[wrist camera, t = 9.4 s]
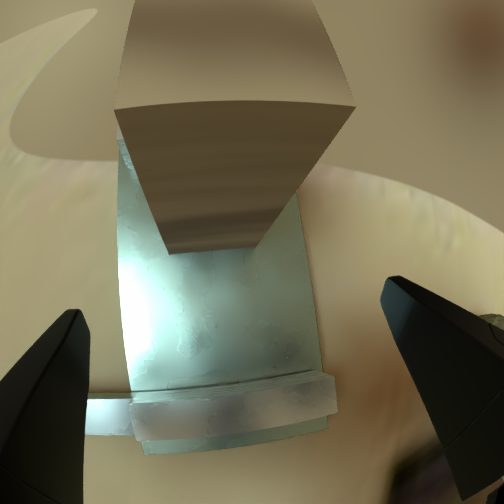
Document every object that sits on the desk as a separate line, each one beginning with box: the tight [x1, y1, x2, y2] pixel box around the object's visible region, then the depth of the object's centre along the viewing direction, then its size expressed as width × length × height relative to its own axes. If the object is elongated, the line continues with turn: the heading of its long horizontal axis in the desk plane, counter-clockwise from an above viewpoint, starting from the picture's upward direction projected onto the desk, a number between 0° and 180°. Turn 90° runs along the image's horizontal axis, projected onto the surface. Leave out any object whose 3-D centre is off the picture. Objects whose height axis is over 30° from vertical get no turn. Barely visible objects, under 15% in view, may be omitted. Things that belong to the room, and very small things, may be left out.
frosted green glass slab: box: [116, 124, 328, 455], centre depth 17 cm, size 20×11×4 cm, turn 6°
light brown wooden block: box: [85, 370, 338, 441], centre depth 13 cm, size 2×20×5 cm, turn 96°
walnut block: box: [114, 0, 356, 255], centre depth 13 cm, size 5×5×13 cm
